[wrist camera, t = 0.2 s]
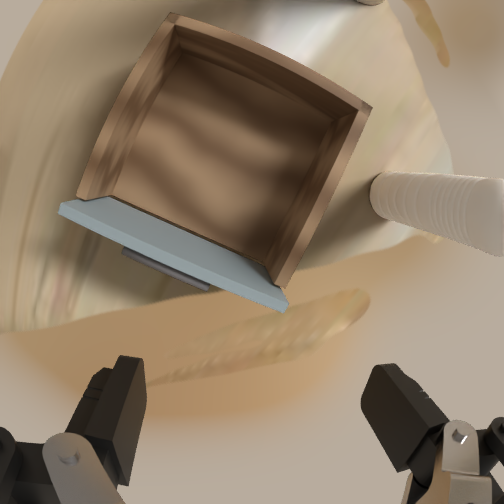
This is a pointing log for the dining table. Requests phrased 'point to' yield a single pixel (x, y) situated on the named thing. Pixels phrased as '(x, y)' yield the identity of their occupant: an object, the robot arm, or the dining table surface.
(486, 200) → the water bottle
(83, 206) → the rectangular panel
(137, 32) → the dining table surface
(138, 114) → the crate
